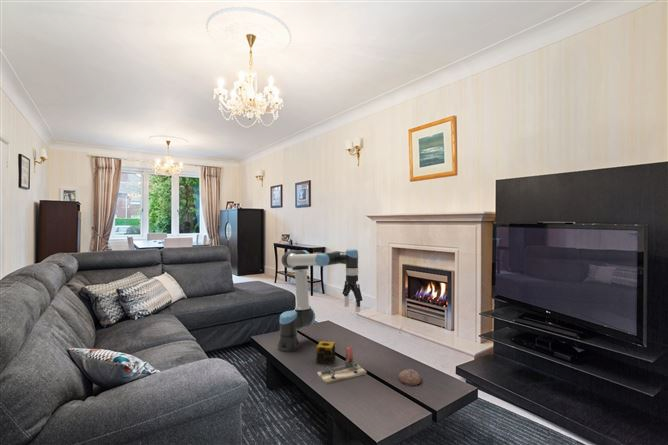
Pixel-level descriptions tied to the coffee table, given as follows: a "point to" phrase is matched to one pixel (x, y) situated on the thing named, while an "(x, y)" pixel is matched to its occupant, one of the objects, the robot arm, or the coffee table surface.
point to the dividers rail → (336, 369)
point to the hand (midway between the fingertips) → (352, 309)
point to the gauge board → (342, 374)
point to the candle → (325, 352)
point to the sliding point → (350, 357)
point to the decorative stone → (409, 377)
